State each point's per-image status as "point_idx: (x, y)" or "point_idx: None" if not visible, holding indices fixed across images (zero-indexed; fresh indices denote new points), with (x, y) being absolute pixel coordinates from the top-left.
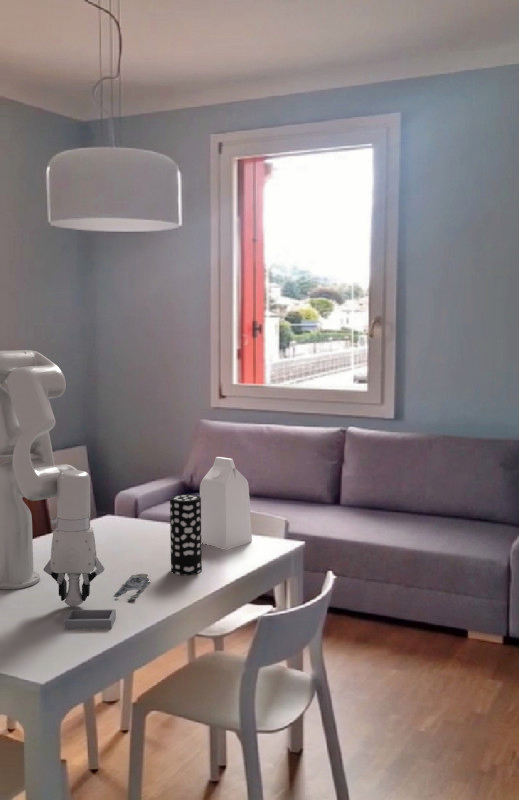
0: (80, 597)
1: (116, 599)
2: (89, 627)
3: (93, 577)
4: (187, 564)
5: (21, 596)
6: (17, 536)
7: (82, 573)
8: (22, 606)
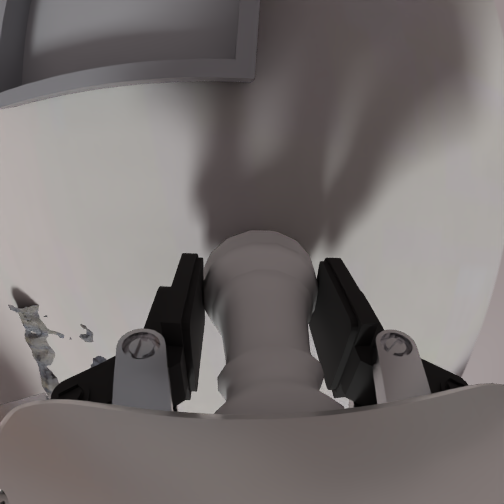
0: (213, 272)
1: (86, 335)
2: None
3: (80, 382)
4: None
5: (442, 357)
6: None
7: (141, 408)
8: (462, 278)
